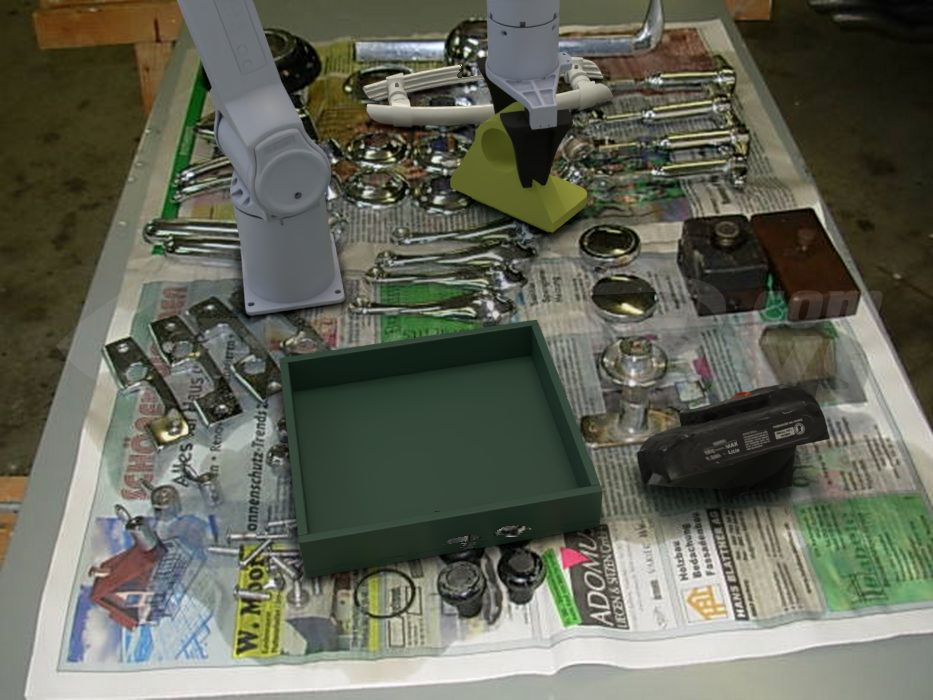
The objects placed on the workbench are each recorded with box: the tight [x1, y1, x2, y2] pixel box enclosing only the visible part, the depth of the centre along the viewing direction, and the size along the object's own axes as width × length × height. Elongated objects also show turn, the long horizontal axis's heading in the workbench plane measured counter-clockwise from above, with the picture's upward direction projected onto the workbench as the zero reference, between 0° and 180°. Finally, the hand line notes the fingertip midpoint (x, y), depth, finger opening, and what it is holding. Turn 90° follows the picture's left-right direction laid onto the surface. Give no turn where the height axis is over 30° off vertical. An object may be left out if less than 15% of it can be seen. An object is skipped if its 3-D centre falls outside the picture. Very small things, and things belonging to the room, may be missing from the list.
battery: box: [636, 383, 831, 501], centre depth 73 cm, size 12×8×7 cm
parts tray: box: [278, 319, 604, 579], centre depth 76 cm, size 17×19×4 cm
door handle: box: [362, 56, 614, 128], centre depth 113 cm, size 3×10×25 cm
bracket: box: [449, 102, 588, 233], centre depth 97 cm, size 11×6×10 cm, turn 50°
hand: (522, 159), depth 96 cm, fingers open, 7 cm apart
